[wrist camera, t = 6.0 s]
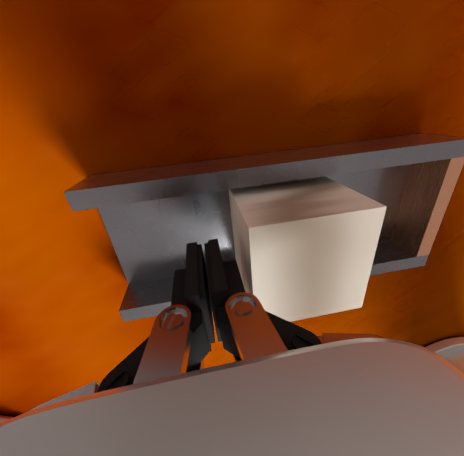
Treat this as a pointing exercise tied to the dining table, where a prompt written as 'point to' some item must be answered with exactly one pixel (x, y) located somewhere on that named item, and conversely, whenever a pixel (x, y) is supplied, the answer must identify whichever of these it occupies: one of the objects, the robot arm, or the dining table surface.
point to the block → (305, 245)
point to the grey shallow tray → (260, 173)
